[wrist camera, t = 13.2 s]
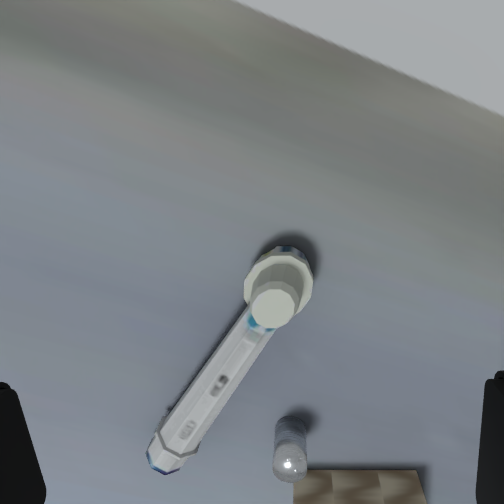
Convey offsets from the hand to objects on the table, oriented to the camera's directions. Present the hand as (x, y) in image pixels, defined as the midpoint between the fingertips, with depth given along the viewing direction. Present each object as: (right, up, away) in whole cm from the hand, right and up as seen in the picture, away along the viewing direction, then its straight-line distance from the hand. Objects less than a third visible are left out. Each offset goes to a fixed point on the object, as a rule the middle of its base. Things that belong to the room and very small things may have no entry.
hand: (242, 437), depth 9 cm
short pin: (+4, -14, +34) cm, 37 cm away
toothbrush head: (-2, -6, +33) cm, 33 cm away
